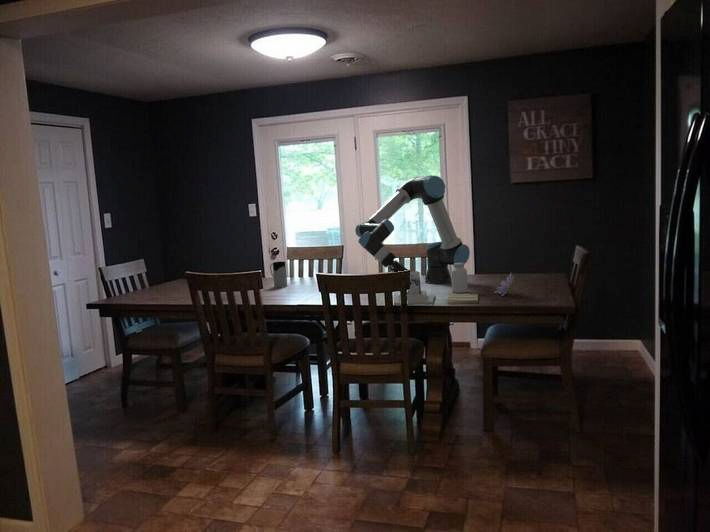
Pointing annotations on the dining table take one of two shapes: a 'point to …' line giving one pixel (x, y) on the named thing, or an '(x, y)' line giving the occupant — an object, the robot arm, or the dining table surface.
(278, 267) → the glass holder
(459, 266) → the pill bottle
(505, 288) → the water lily
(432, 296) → the collar holder
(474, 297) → the ash board
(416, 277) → the syrup box
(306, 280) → the dining table surface
